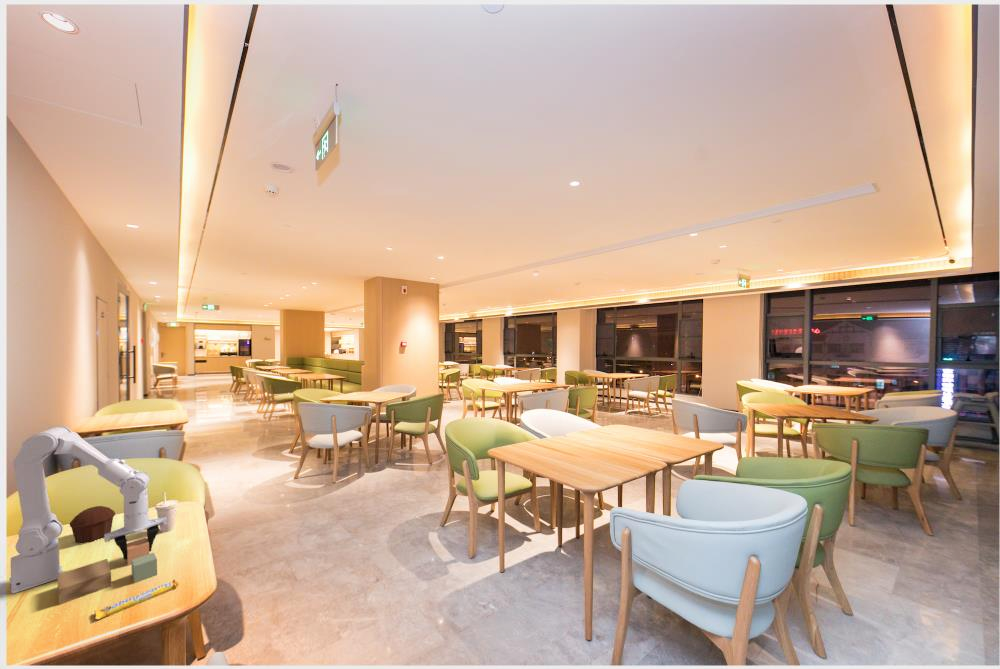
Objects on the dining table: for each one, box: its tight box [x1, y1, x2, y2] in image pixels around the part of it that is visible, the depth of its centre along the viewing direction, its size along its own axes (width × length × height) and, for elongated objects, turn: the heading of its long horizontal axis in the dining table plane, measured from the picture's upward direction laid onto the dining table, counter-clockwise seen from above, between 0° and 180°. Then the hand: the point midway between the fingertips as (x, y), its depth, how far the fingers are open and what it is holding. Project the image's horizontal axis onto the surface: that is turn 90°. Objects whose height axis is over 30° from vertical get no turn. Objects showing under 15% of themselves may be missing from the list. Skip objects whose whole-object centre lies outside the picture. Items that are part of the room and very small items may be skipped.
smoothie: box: [154, 491, 179, 533], centre depth 144 cm, size 6×6×14 cm
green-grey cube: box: [131, 552, 158, 584], centre depth 118 cm, size 5×5×5 cm
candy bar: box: [94, 579, 180, 620], centre depth 107 cm, size 17×4×2 cm, turn 140°
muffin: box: [69, 505, 116, 544], centre depth 140 cm, size 12×11×10 cm
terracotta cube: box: [125, 537, 150, 566], centre depth 126 cm, size 5×5×5 cm
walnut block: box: [57, 558, 112, 605], centre depth 112 cm, size 10×10×4 cm
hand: (137, 554), depth 126 cm, fingers closed on terracotta cube, 5 cm apart
